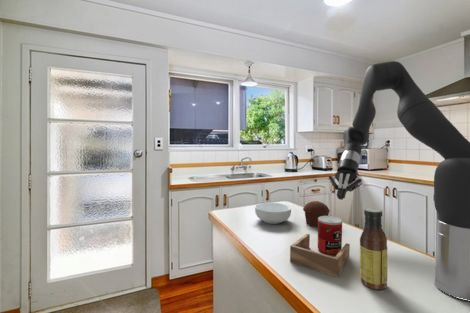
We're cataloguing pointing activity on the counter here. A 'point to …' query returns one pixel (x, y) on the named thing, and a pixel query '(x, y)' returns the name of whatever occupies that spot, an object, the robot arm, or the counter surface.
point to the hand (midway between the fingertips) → (340, 198)
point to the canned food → (329, 235)
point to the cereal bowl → (273, 212)
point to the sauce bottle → (373, 251)
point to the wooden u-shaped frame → (318, 257)
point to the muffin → (315, 212)
